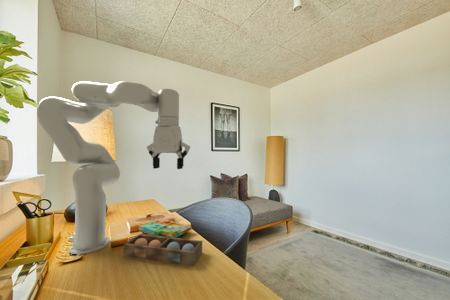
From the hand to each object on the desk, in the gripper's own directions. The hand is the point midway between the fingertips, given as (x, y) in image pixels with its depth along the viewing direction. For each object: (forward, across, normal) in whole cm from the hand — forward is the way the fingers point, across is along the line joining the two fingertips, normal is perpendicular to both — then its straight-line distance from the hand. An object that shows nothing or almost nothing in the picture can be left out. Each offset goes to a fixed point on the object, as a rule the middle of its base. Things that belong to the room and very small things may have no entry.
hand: (168, 168), depth 68 cm
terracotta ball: (+30, -3, -4) cm, 30 cm away
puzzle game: (+31, -8, +12) cm, 34 cm away
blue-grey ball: (+30, +10, -4) cm, 32 cm away
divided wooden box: (+30, +1, -4) cm, 31 cm away
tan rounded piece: (+30, -8, -4) cm, 31 cm away
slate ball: (+30, +5, -4) cm, 30 cm away
